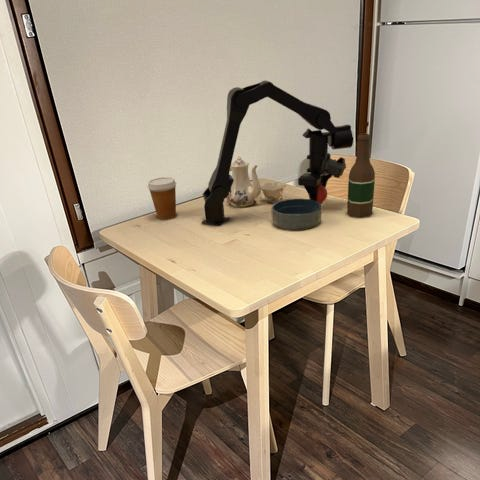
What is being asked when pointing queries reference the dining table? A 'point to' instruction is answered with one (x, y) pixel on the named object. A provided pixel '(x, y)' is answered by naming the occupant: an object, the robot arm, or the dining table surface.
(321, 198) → the apple
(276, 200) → the chinaware
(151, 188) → the disposable coffee cup
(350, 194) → the beer bottle
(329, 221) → the dining table surface
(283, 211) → the bowl
